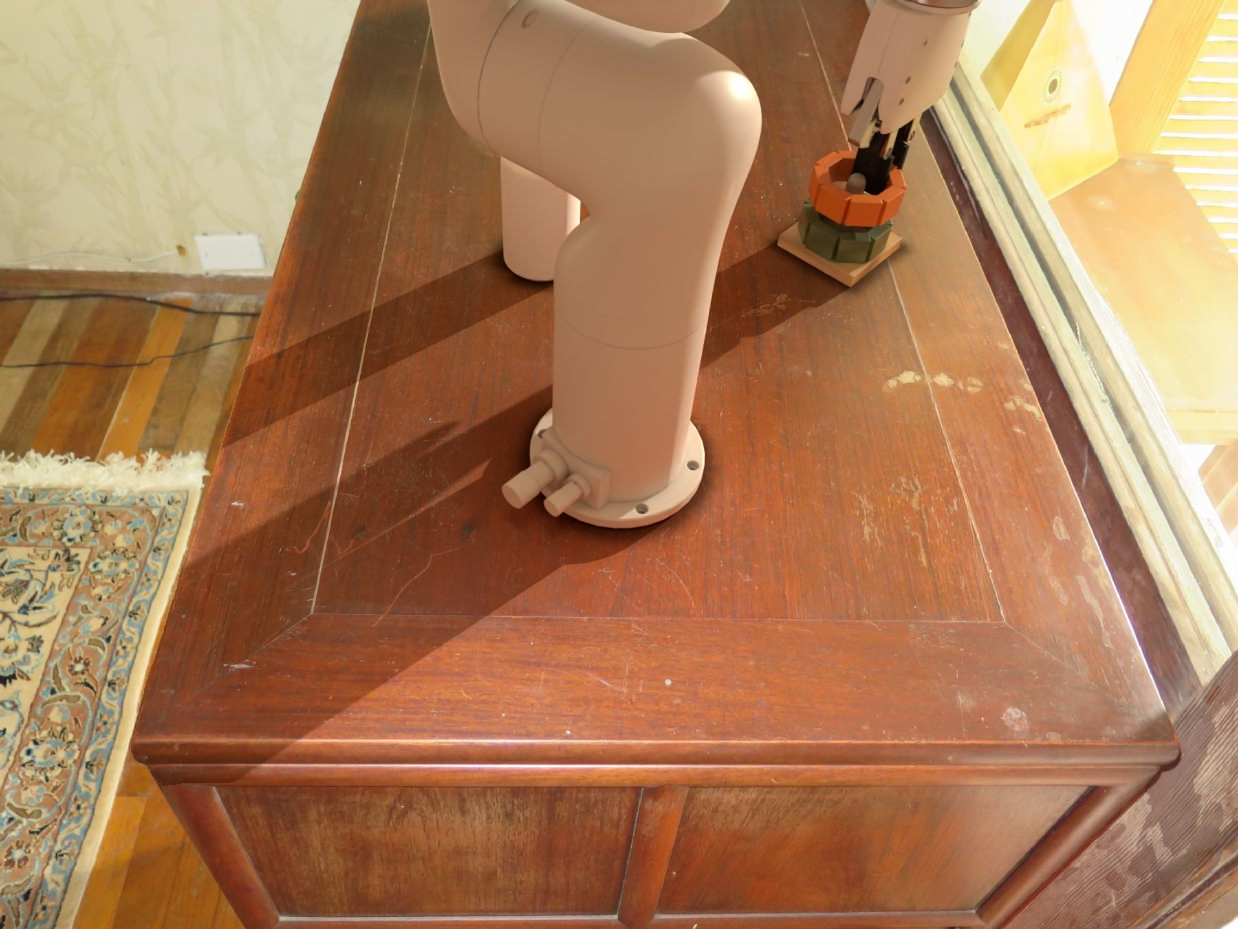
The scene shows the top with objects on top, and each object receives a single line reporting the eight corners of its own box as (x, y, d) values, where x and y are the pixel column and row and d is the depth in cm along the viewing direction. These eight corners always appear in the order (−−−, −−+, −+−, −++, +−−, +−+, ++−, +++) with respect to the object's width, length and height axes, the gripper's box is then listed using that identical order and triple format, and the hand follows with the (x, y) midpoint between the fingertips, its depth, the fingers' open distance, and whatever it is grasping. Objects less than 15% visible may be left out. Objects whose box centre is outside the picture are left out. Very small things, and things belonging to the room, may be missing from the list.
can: (568, 290, 84) (572, 166, 74) (494, 276, 84) (489, 152, 75) (585, 243, 88) (591, 121, 78) (514, 231, 88) (512, 108, 79)
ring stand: (850, 287, 86) (872, 215, 80) (776, 245, 89) (793, 172, 83) (899, 248, 90) (923, 176, 84) (827, 209, 93) (846, 137, 87)
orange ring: (863, 238, 83) (870, 214, 81) (792, 196, 86) (797, 172, 84) (913, 202, 86) (921, 178, 84) (843, 163, 89) (850, 140, 88)
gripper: (946, -74, 79) (884, 133, 93) (834, -15, 71) (786, 201, 85) (1031, -41, 76) (954, 167, 90) (924, 24, 68) (858, 241, 82)
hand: (873, 182), depth 87 cm, fingers closed on orange ring, 1 cm apart
